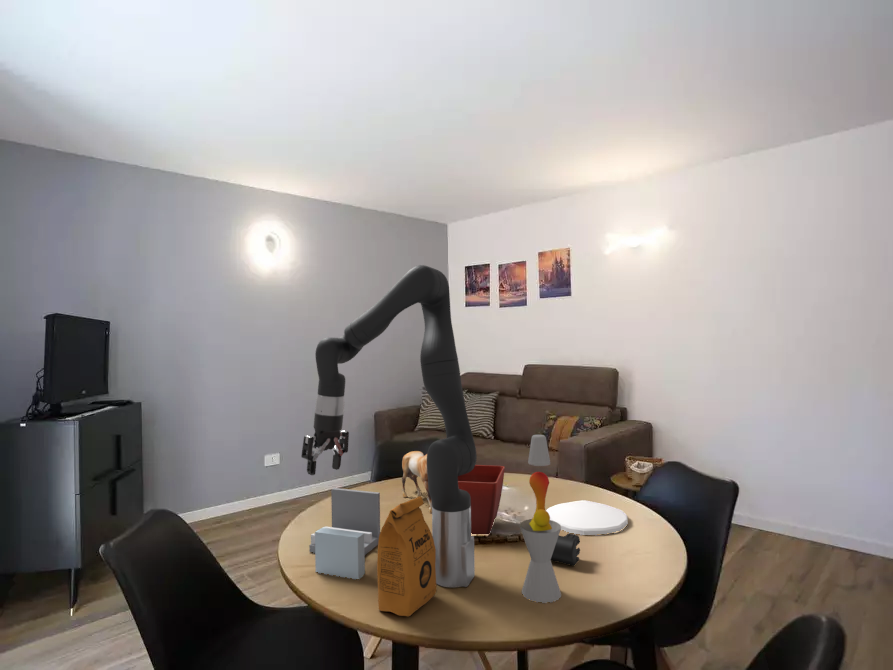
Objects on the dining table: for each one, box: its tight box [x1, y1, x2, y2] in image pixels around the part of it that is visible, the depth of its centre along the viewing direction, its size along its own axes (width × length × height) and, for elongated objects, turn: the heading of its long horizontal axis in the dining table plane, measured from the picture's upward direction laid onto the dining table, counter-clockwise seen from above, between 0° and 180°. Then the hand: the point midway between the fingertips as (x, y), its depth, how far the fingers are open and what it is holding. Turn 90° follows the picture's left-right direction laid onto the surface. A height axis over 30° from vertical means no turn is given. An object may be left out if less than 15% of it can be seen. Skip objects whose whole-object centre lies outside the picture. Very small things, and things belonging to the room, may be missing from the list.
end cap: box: [551, 533, 581, 567], centre depth 132 cm, size 10×7×7 cm
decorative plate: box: [545, 499, 629, 536], centre depth 160 cm, size 25×4×25 cm
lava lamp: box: [519, 434, 562, 604], centre depth 115 cm, size 9×9×35 cm
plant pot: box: [458, 464, 506, 534], centre depth 155 cm, size 19×19×17 cm
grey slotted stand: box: [308, 487, 381, 556], centre depth 142 cm, size 15×12×14 cm
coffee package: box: [376, 496, 437, 617], centre depth 111 cm, size 10×12×22 cm
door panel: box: [314, 527, 366, 580], centre depth 127 cm, size 12×3×10 cm, turn 69°
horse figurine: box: [401, 450, 432, 514], centre depth 180 cm, size 31×8×21 cm, turn 28°
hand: (323, 471), depth 139 cm, fingers open, 8 cm apart
